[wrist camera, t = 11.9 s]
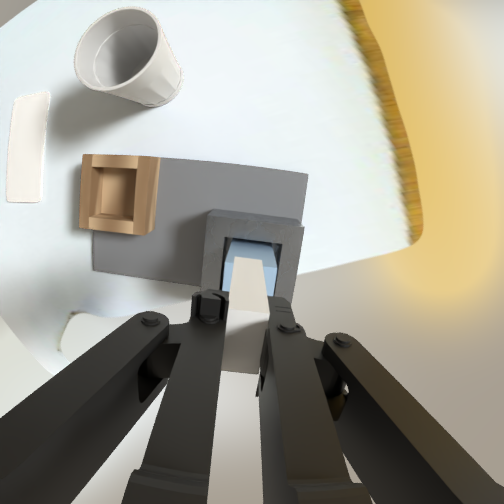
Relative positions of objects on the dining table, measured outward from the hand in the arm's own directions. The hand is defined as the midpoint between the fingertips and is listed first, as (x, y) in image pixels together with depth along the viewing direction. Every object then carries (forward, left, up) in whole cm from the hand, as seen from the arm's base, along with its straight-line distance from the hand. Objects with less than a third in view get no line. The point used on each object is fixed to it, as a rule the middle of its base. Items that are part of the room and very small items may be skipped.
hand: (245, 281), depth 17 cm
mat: (-6, -1, -18) cm, 19 cm away
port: (+1, -3, -17) cm, 17 cm away
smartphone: (-31, +8, -19) cm, 37 cm away
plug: (0, -3, -17) cm, 17 cm away
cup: (-12, +15, -18) cm, 27 cm away
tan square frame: (-14, +2, -17) cm, 23 cm away
